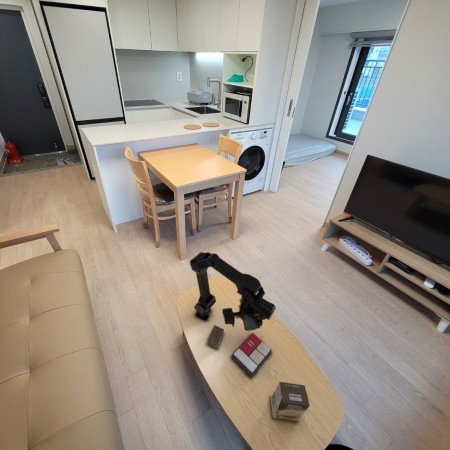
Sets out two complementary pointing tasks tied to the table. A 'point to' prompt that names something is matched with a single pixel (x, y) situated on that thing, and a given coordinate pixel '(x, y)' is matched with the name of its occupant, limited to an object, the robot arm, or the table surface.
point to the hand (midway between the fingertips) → (243, 324)
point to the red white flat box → (251, 354)
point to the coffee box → (289, 401)
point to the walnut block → (215, 337)
